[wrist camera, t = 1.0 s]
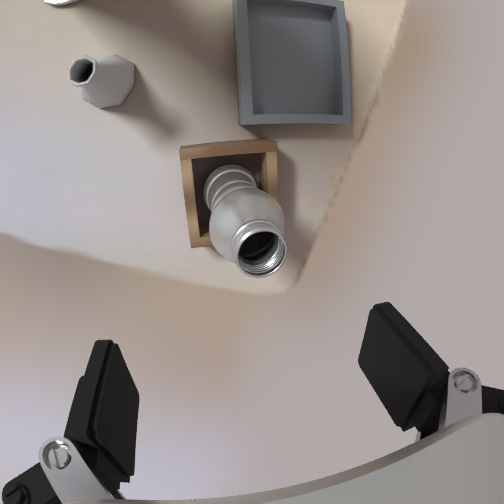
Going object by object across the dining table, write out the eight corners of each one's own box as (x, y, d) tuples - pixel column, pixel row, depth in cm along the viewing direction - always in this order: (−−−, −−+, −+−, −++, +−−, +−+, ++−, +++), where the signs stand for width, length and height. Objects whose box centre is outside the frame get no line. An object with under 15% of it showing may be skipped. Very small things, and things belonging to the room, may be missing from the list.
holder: (180, 146, 34) (179, 149, 30) (266, 138, 36) (276, 141, 32) (191, 234, 40) (191, 248, 36) (269, 224, 41) (278, 237, 37)
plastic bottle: (261, 175, 38) (325, 232, 20) (236, 219, 40) (274, 306, 22) (218, 152, 36) (246, 188, 18) (193, 198, 38) (196, 276, 20)
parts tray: (232, -2, 27) (236, -11, 24) (333, 7, 29) (343, 1, 26) (239, 124, 35) (243, 125, 32) (340, 123, 37) (351, 124, 34)
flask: (92, 52, 26) (62, 35, 17) (143, 59, 28) (127, 39, 20) (76, 105, 29) (41, 103, 20) (126, 112, 31) (104, 111, 22)
